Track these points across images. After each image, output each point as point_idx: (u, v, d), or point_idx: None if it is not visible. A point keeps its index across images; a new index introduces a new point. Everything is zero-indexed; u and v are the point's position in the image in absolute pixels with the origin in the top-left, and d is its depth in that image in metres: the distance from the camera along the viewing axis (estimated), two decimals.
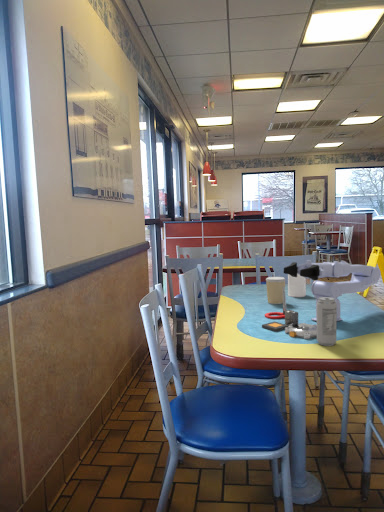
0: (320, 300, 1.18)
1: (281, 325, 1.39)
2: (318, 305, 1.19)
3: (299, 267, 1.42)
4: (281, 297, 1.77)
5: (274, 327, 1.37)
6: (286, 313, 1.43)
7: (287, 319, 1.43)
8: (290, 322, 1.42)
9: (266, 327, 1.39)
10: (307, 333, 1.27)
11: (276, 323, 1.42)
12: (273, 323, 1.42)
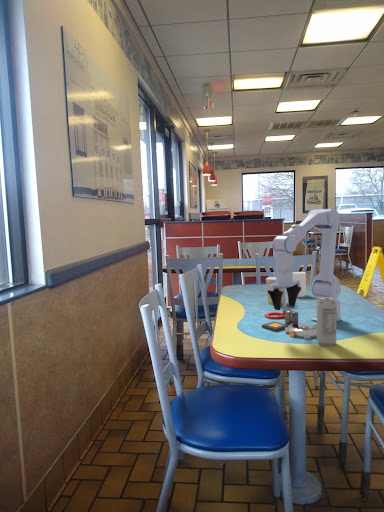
0: (320, 300, 1.18)
1: (281, 325, 1.39)
2: (318, 305, 1.19)
3: None
4: None
5: (274, 327, 1.37)
6: (286, 313, 1.43)
7: (287, 319, 1.43)
8: (290, 322, 1.42)
9: (266, 327, 1.39)
10: (307, 333, 1.27)
11: (276, 323, 1.42)
12: (273, 323, 1.42)
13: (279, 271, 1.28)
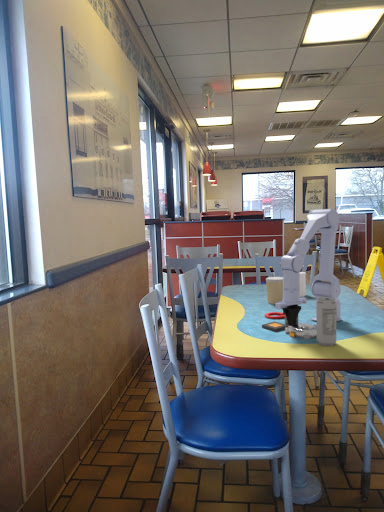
0: (320, 300, 1.18)
1: (281, 325, 1.39)
2: (318, 305, 1.19)
3: None
4: (281, 297, 1.77)
5: (274, 327, 1.37)
6: None
7: None
8: None
9: (266, 327, 1.39)
10: (307, 333, 1.27)
11: (276, 323, 1.42)
12: (273, 323, 1.42)
13: (286, 290, 1.30)
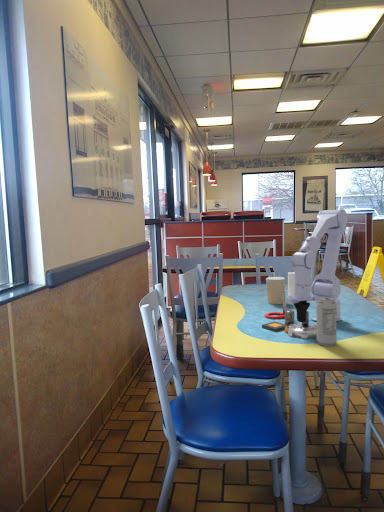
0: (320, 300, 1.18)
1: (281, 325, 1.39)
2: (318, 305, 1.19)
3: None
4: (281, 297, 1.77)
5: (274, 327, 1.37)
6: (286, 313, 1.43)
7: (287, 319, 1.43)
8: (290, 322, 1.42)
9: (266, 327, 1.39)
10: (294, 331, 1.30)
11: (276, 323, 1.42)
12: (273, 323, 1.42)
13: (297, 285, 1.33)
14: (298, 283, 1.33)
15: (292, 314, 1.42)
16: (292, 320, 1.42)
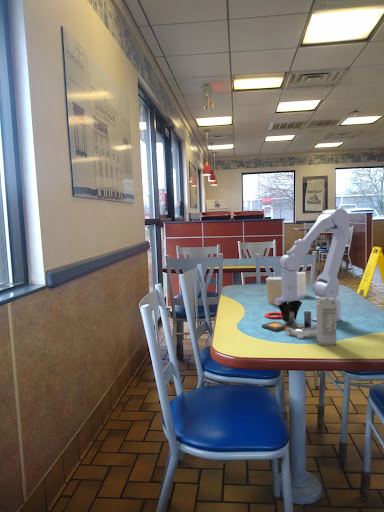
0: (320, 300, 1.18)
1: (281, 325, 1.39)
2: (318, 305, 1.19)
3: None
4: None
5: (274, 327, 1.37)
6: None
7: None
8: (290, 322, 1.42)
9: (266, 327, 1.39)
10: (292, 330, 1.31)
11: (276, 323, 1.42)
12: (273, 323, 1.42)
13: (285, 287, 1.41)
14: (282, 284, 1.42)
15: (292, 314, 1.42)
16: (292, 320, 1.42)
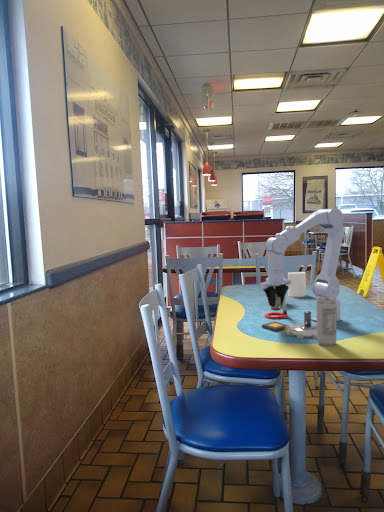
0: (320, 300, 1.18)
1: (281, 325, 1.39)
2: (318, 305, 1.19)
3: (270, 284, 1.36)
4: None
5: (274, 327, 1.37)
6: None
7: None
8: (276, 307, 1.38)
9: (266, 327, 1.39)
10: (292, 330, 1.31)
11: (276, 323, 1.42)
12: (273, 323, 1.42)
13: (271, 270, 1.36)
14: (269, 268, 1.37)
15: (278, 299, 1.37)
16: (278, 305, 1.38)
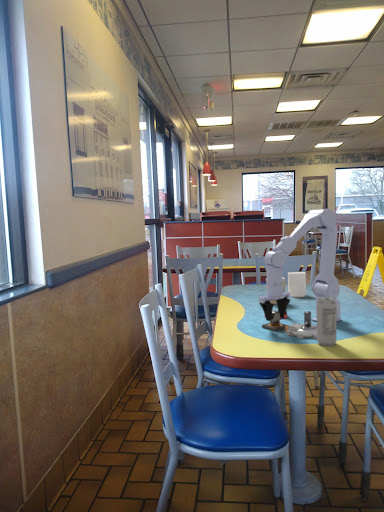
0: (320, 300, 1.18)
1: (281, 325, 1.39)
2: (318, 305, 1.19)
3: None
4: None
5: (274, 327, 1.37)
6: None
7: (272, 320, 1.38)
8: (275, 323, 1.38)
9: (266, 327, 1.39)
10: (292, 330, 1.31)
11: None
12: None
13: (270, 284, 1.36)
14: (268, 282, 1.37)
15: (277, 315, 1.38)
16: (277, 321, 1.38)
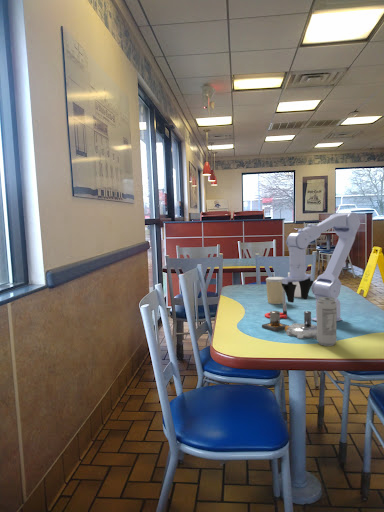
0: (320, 300, 1.18)
1: (281, 325, 1.39)
2: (318, 305, 1.19)
3: (292, 280, 1.36)
4: (281, 297, 1.77)
5: (274, 327, 1.37)
6: (271, 314, 1.38)
7: (272, 320, 1.38)
8: (275, 323, 1.38)
9: (266, 327, 1.39)
10: (292, 330, 1.31)
11: None
12: None
13: (293, 266, 1.37)
14: (292, 263, 1.37)
15: (277, 315, 1.38)
16: (277, 321, 1.38)
